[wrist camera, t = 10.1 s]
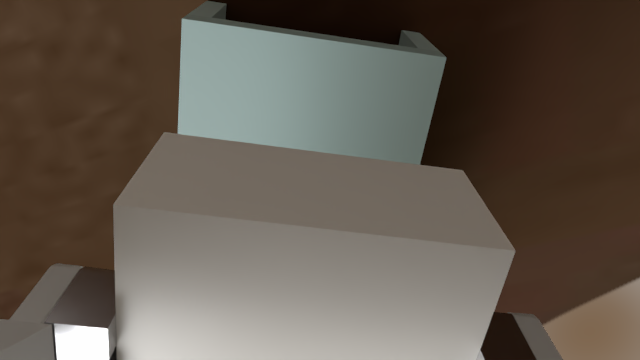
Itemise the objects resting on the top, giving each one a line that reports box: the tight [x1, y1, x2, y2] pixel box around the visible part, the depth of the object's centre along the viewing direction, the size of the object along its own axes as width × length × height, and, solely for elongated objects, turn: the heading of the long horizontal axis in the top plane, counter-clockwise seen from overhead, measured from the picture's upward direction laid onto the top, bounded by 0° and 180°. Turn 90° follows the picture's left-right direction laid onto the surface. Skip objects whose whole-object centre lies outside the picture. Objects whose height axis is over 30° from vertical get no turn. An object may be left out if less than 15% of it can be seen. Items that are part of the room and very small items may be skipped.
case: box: [178, 1, 446, 165], centre depth 22 cm, size 9×12×5 cm
